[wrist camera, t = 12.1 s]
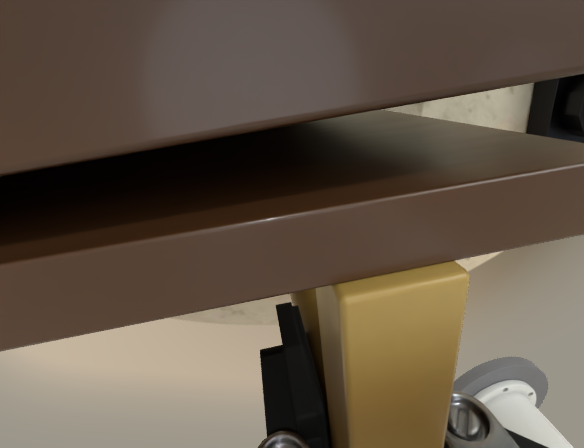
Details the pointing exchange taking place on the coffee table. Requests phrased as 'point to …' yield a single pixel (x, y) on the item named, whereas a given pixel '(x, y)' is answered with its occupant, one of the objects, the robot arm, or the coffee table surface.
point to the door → (295, 246)
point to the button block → (558, 109)
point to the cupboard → (252, 66)
